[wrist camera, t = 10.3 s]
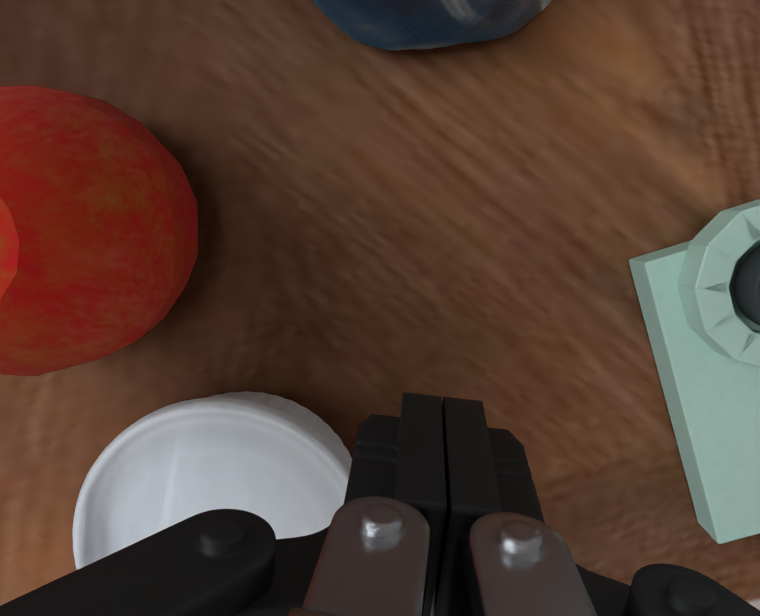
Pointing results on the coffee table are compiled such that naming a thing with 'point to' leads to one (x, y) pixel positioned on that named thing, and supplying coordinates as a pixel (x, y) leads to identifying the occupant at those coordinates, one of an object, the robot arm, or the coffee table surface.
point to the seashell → (428, 20)
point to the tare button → (749, 286)
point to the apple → (85, 230)
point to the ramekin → (212, 471)
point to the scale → (709, 366)
